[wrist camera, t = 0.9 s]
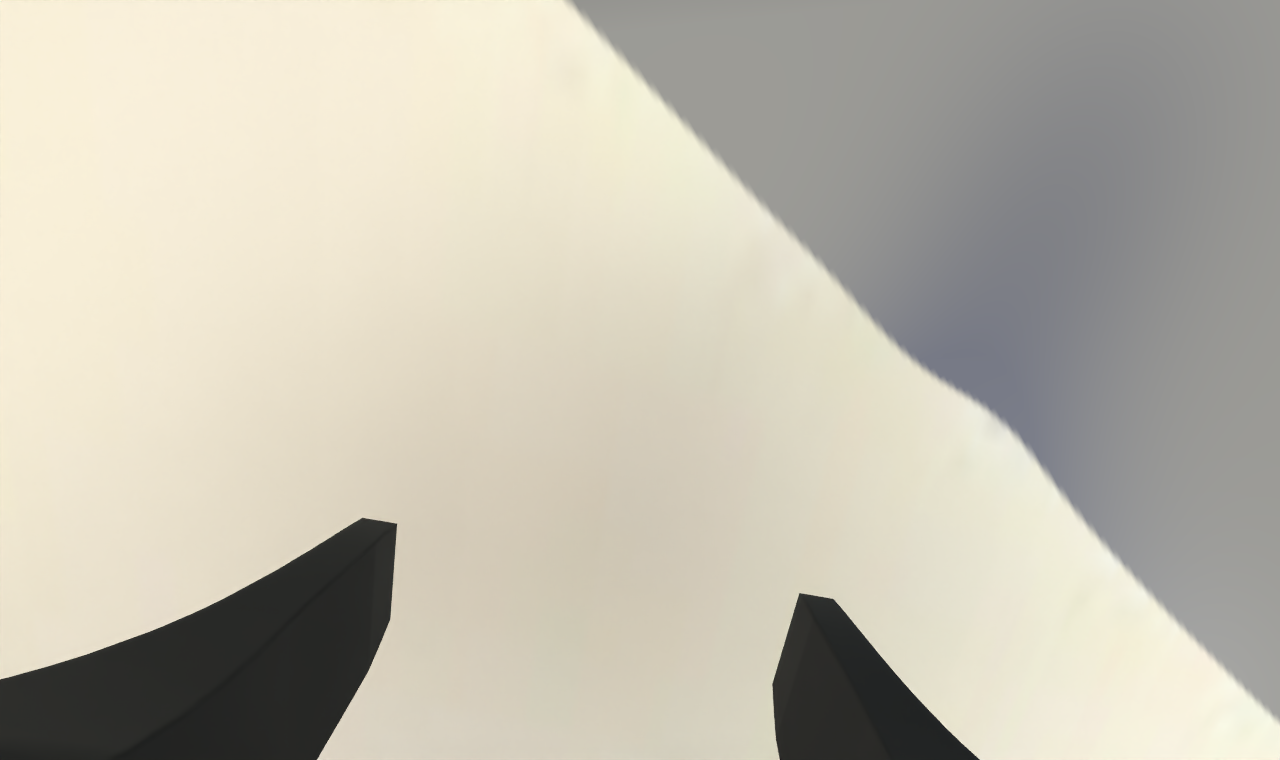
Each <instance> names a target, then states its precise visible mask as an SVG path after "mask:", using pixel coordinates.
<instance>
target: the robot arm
mask: <svg viewBox="0 0 1280 760" xmlns="http://www.w3.org/2000/svg"><path fill="white" fill-rule="evenodd" d="M396 531H397V524H395V523H389V522H384V521H378V520H372V519H366V518H362V519H360V520H358V521H356V522H355V523H353V524H351V525H350V526H348V527H347V528H345V529H343V530H342V531H340V532H339V533H337V534H335V535H334V536H332V537H331V538H329V539H327V540H326V541H324V542H323V543H321V544H319V545H318V546H316V547H314V548H313V549H311V550H310V551H308V552H306V553H305V554H303V555H301V556H300V557H298V558H296V559H295V560H293V561H291V562H290V563H288V564H286V565H285V566H283V567H281V568H280V569H278V570H276V571H274V572H273V573H271V574H269V575H267V576H265V577H263V578H262V579H260V580H258V581H256V582H254V583H252V584H250V585H249V586H247V587H245V588H243V589H241V590H239V591H237V592H235V593H234V594H232V595H230V596H228V597H226V598H224V599H222V600H220V601H218V602H216V603H214V604H212V605H210V606H208V607H206V608H204V609H202V610H199V611H197V612H195V613H193V614H191V615H188V616H186V617H184V618H181V619H179V620H177V621H174V622H172V623H170V624H168V625H165V626H163V627H160V628H158V629H156V630H153V631H151V632H148V633H145V634H142V635H140V636H137V637H134V638H131V639H129V640H126V641H123V642H120V643H118V644H115V645H112V646H109V647H106V648H104V649H101V650H98V651H95V652H93V653H90V654H87V655H84V656H81V657H78V658H74V659H71V660H68V661H65V662H61V663H58V664H55V665H51V666H48V667H45V668H41V669H38V670H34V671H30V672H27V673H23V674H19V675H16V676H12V677H9V678H5V679H1V680H0V760H317V758H318V757H319V755H320V753H321V752H322V750H323V748H324V747H325V745H326V743H327V741H328V740H329V738H330V736H331V735H332V733H333V731H334V729H335V728H336V726H337V724H338V723H339V721H340V719H341V718H342V716H343V714H344V712H345V711H346V709H347V707H348V705H349V704H350V702H351V700H352V699H353V697H354V695H355V693H356V692H357V690H358V688H359V686H360V685H361V683H362V681H363V679H364V678H365V676H366V674H367V672H368V671H369V668H370V666H371V664H372V661H373V659H374V657H375V655H376V652H377V650H378V648H379V645H380V643H381V640H382V638H383V636H384V633H385V631H386V628H387V626H388V623H389V621H390V615H391V601H392V587H393V573H394V559H395V545H396ZM773 702H774V718H775V731H776V741H777V747H778V752H779V758H780V760H979V759H978V758H977V757H976V756H975V755H974V754H973V753H972V752H971V751H969V750H968V749H967V748H966V747H965V746H964V745H963V744H962V743H961V742H960V741H959V740H958V739H957V738H956V737H955V736H953V735H952V734H951V733H950V732H949V731H948V730H947V729H946V728H945V727H944V726H943V725H942V724H941V723H940V721H939V720H938V719H937V718H936V717H935V716H934V715H933V714H932V713H931V712H930V711H929V710H928V709H927V708H926V707H925V706H924V705H923V704H922V703H921V702H920V701H919V700H918V698H917V697H916V696H915V695H914V694H913V693H912V692H911V691H910V690H909V688H908V687H907V686H906V685H905V684H904V683H903V682H902V681H901V679H900V678H899V677H898V676H897V675H896V674H895V673H894V671H893V670H892V669H891V668H890V667H889V665H888V664H887V663H886V662H885V661H884V660H883V658H882V657H881V656H880V655H879V654H878V652H877V651H876V650H875V649H874V648H873V646H872V645H871V644H870V643H869V641H868V640H867V639H866V638H865V637H864V635H863V634H862V633H861V632H860V630H859V629H858V628H857V627H856V625H855V624H854V623H853V622H852V621H851V619H850V618H849V617H848V616H847V614H846V613H845V612H844V611H843V610H842V608H841V607H840V606H839V605H838V604H837V603H836V601H835V600H834V599H830V598H824V597H819V596H813V595H807V594H801V593H799V597H798V600H797V603H796V607H795V610H794V614H793V617H792V620H791V624H790V627H789V630H788V634H787V637H786V640H785V644H784V647H783V651H782V654H781V657H780V661H779V664H778V667H777V671H776V674H775V677H774V681H773Z"/></svg>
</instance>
